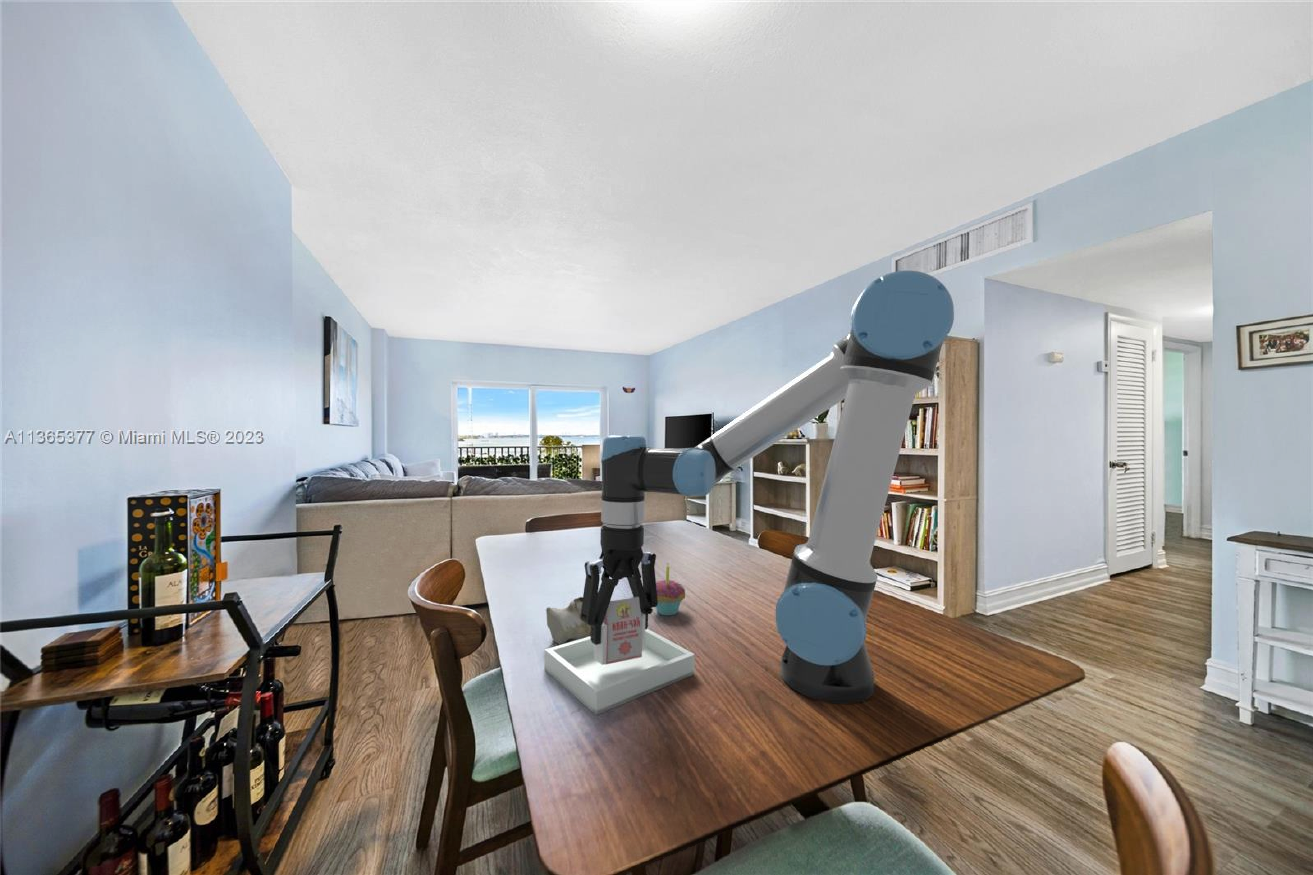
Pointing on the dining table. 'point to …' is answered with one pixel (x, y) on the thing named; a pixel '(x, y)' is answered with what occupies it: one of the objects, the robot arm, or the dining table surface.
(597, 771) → the dining table surface
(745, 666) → the dining table surface
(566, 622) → the ceramic sculpture
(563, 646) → the tray
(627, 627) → the white printed box
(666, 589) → the cupcake
